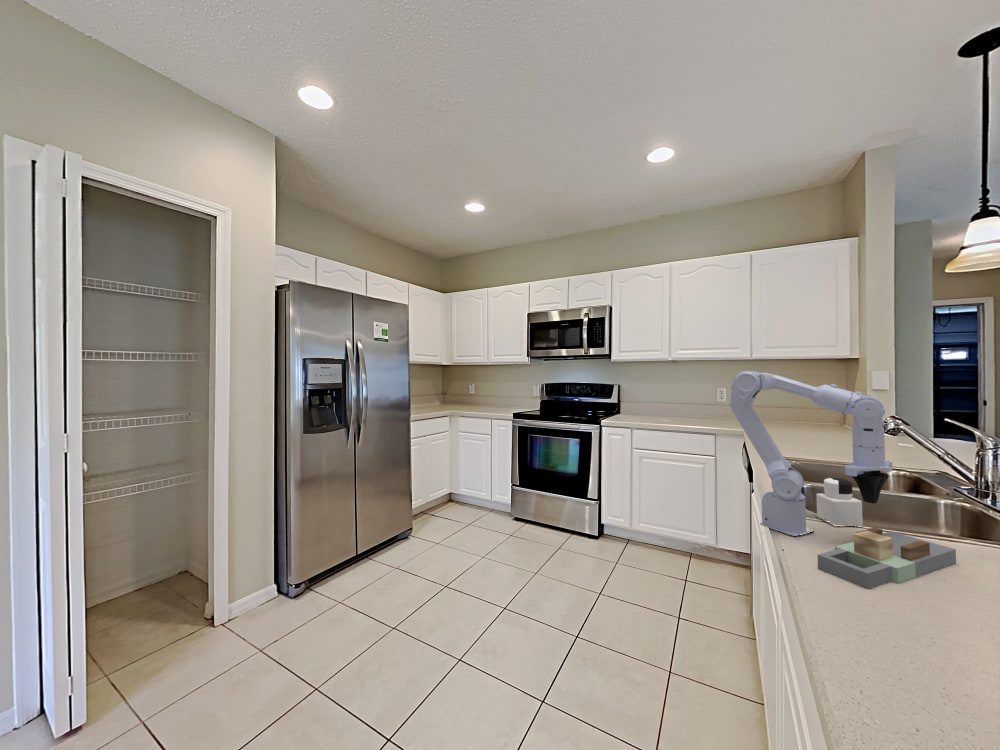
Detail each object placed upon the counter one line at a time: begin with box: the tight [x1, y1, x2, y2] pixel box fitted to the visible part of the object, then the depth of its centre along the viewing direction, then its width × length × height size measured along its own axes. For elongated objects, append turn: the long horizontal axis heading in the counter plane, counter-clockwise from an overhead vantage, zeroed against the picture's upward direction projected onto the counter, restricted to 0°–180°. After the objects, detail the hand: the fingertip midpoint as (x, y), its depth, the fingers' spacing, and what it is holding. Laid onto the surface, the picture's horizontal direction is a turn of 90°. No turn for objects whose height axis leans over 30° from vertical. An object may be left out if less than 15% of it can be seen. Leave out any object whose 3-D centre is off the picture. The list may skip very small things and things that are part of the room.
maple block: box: [853, 531, 893, 561], centre depth 85 cm, size 4×4×4 cm
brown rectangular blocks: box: [854, 526, 930, 561], centre depth 87 cm, size 10×7×2 cm
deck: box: [817, 530, 957, 590], centre depth 87 cm, size 11×28×3 cm, turn 110°
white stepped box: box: [816, 477, 864, 528], centre depth 111 cm, size 7×7×12 cm
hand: (870, 502), depth 96 cm, fingers closed
